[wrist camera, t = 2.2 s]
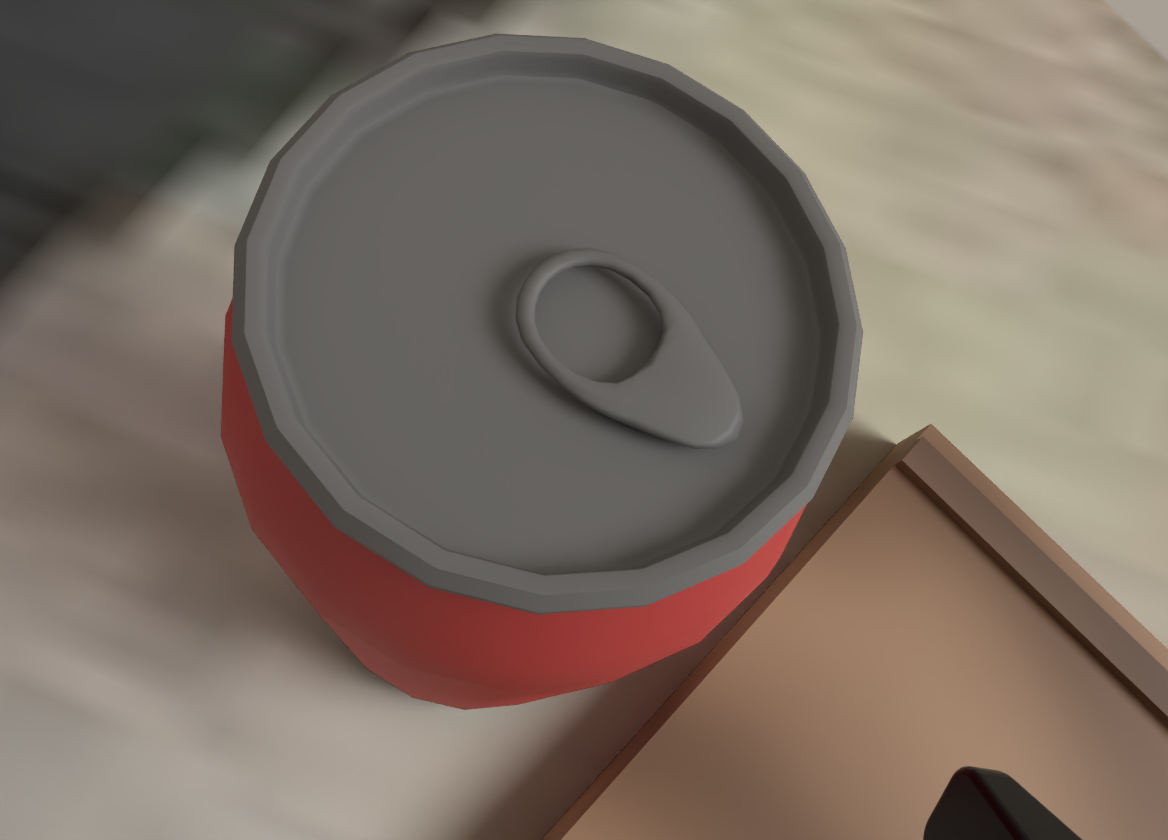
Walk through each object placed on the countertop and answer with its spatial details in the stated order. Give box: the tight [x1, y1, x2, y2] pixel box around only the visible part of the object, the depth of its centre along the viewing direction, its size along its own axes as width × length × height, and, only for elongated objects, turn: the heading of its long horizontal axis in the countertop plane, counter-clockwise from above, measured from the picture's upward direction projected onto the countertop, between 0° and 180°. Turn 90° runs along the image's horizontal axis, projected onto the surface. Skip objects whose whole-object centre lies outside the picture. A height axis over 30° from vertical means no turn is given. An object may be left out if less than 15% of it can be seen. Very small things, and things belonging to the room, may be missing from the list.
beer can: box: [221, 34, 863, 710], centre depth 13 cm, size 7×7×12 cm
